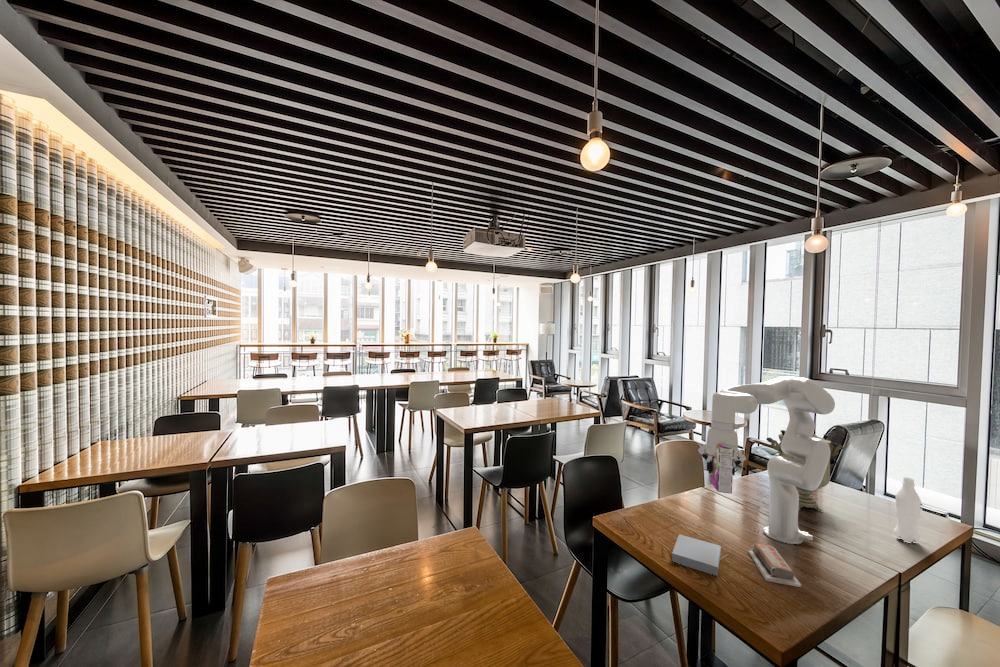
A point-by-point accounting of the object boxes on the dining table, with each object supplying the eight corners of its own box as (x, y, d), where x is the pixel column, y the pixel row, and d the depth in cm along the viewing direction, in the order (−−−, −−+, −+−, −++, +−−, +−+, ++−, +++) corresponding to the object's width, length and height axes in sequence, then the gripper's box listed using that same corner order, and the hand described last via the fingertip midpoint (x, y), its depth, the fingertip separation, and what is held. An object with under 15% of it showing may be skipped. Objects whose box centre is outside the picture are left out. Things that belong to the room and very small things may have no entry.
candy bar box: (708, 481, 151) (710, 438, 151) (722, 483, 150) (724, 440, 150) (716, 492, 140) (719, 446, 140) (732, 494, 139) (734, 448, 139)
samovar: (766, 509, 182) (768, 423, 182) (763, 491, 204) (765, 414, 204) (850, 528, 166) (853, 434, 166) (837, 506, 188) (840, 423, 188)
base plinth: (720, 554, 142) (720, 545, 142) (717, 576, 129) (717, 567, 129) (678, 542, 150) (679, 534, 150) (671, 561, 136) (672, 553, 136)
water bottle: (918, 541, 157) (920, 478, 157) (920, 547, 152) (922, 483, 152) (893, 534, 162) (895, 474, 162) (894, 540, 156) (896, 478, 157)
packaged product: (747, 540, 144) (778, 545, 142) (747, 553, 144) (778, 558, 142) (766, 567, 127) (802, 573, 124) (765, 582, 127) (801, 589, 124)
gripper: (750, 428, 144) (748, 477, 143) (697, 420, 153) (695, 466, 153) (750, 432, 137) (747, 483, 137) (695, 424, 147) (693, 471, 146)
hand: (720, 474), depth 145 cm, fingers closed on candy bar box, 6 cm apart
